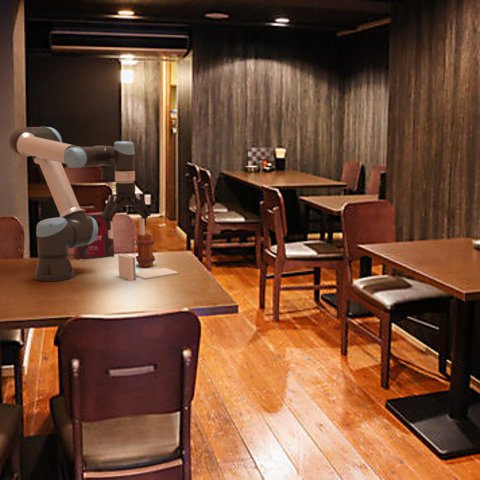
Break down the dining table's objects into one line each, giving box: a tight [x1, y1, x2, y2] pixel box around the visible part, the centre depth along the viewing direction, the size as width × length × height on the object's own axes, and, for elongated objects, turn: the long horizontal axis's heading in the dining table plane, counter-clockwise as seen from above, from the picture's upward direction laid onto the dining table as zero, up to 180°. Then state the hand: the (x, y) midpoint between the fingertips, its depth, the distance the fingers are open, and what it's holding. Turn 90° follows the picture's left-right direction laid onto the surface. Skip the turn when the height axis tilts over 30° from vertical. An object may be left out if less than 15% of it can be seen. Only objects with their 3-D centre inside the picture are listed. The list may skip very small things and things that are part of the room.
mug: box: [135, 231, 156, 268], centre depth 287 cm, size 15×8×15 cm, turn 14°
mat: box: [136, 267, 180, 281], centre depth 271 cm, size 11×16×1 cm
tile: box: [117, 253, 137, 282], centre depth 264 cm, size 10×2×9 cm, turn 38°
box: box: [73, 211, 115, 261], centre depth 305 cm, size 16×9×20 cm, turn 115°
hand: (126, 236), depth 259 cm, fingers open, 13 cm apart
